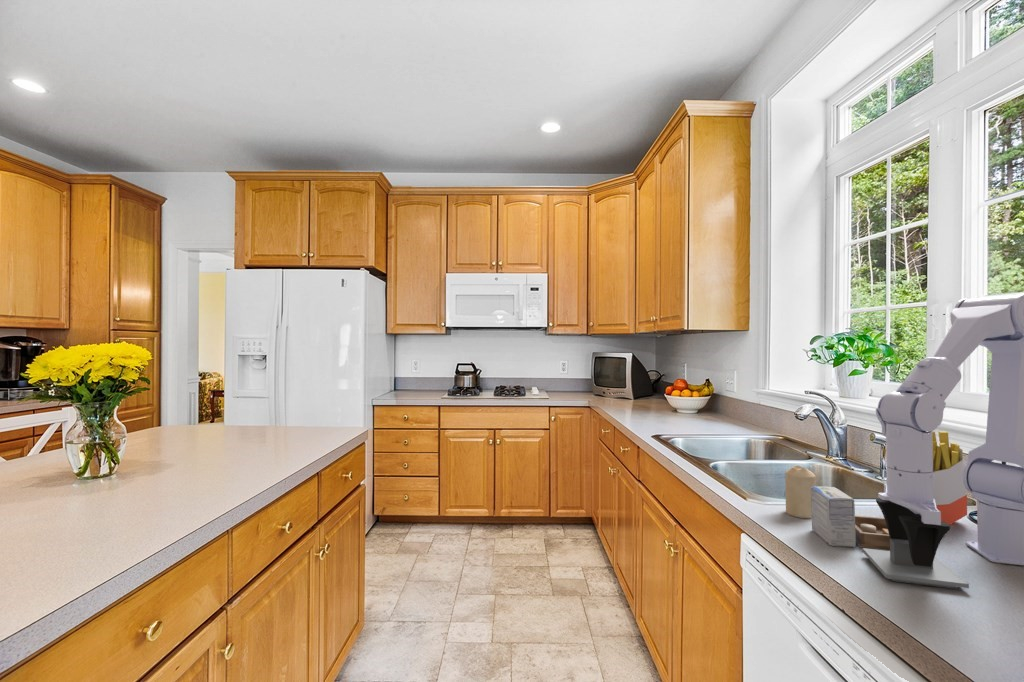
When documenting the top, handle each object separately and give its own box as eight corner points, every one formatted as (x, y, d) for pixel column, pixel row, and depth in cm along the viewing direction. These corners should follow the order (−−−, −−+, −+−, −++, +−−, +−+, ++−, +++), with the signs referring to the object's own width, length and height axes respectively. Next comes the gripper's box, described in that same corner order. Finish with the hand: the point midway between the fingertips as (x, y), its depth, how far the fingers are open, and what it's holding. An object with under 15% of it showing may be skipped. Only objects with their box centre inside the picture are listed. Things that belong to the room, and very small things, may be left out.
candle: (822, 518, 101) (821, 470, 101) (796, 519, 101) (796, 470, 101) (804, 509, 107) (803, 463, 107) (780, 510, 106) (779, 464, 106)
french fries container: (968, 528, 95) (966, 435, 95) (898, 519, 100) (897, 431, 100) (959, 520, 99) (958, 432, 99) (893, 512, 104) (892, 428, 104)
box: (903, 533, 93) (903, 519, 93) (929, 554, 83) (929, 539, 83) (842, 527, 96) (842, 514, 96) (860, 547, 87) (860, 533, 87)
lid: (934, 563, 80) (933, 534, 80) (969, 593, 70) (968, 559, 70) (862, 555, 83) (862, 527, 83) (886, 582, 74) (886, 550, 74)
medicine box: (856, 548, 86) (855, 499, 86) (828, 546, 87) (828, 497, 87) (836, 531, 94) (835, 486, 94) (810, 530, 95) (810, 485, 95)
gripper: (862, 456, 85) (863, 534, 85) (898, 478, 71) (900, 571, 71) (911, 459, 83) (912, 539, 83) (958, 482, 69) (959, 578, 69)
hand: (910, 554), depth 77 cm, fingers open, 7 cm apart
